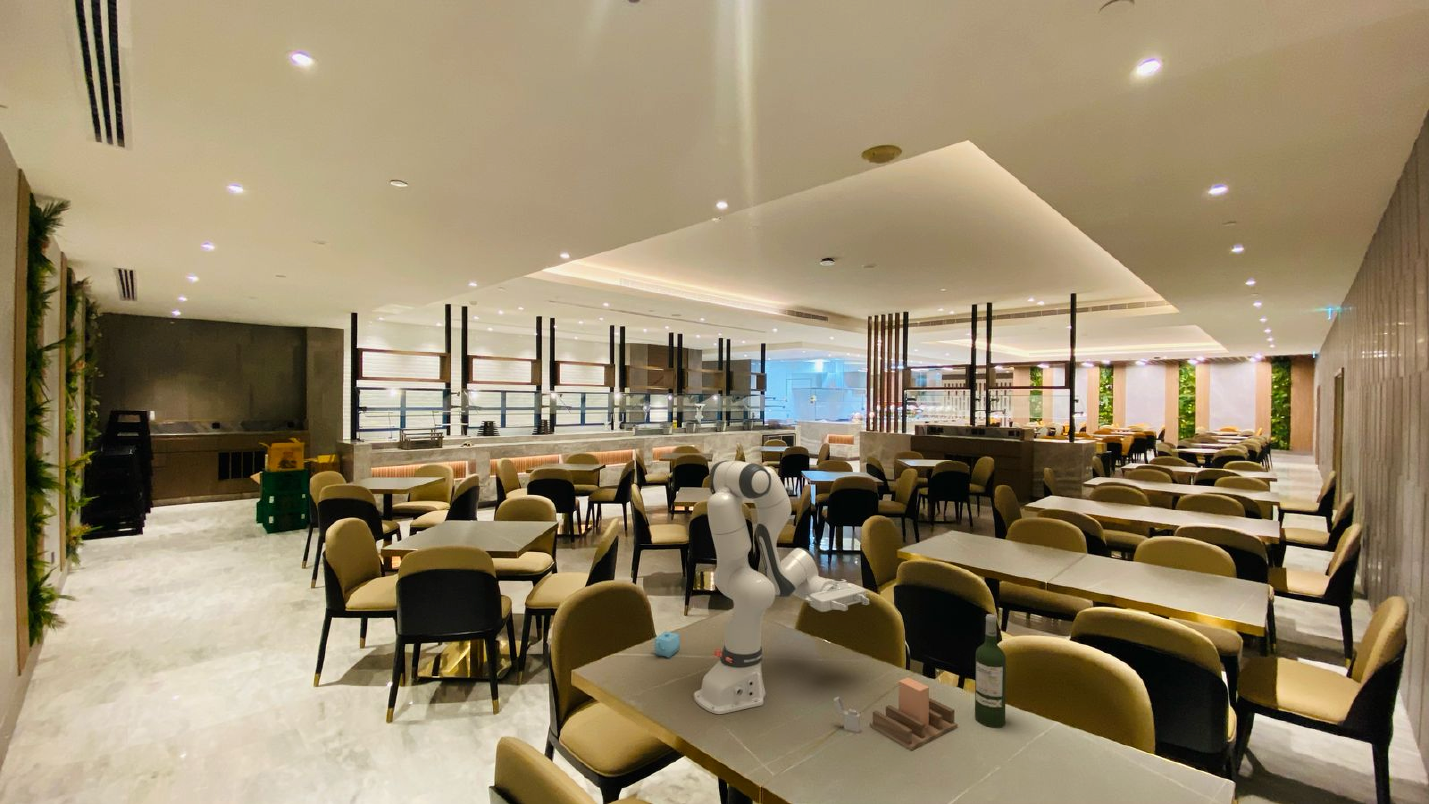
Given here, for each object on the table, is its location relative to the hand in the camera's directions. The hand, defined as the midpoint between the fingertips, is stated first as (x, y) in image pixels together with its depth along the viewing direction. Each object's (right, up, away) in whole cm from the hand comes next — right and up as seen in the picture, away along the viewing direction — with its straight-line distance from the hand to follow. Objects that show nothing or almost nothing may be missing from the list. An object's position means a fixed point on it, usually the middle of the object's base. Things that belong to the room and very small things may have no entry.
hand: (857, 605), depth 187 cm
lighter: (-7, -28, -18) cm, 34 cm away
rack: (+12, -28, -17) cm, 35 cm away
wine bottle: (+35, -29, -13) cm, 47 cm away
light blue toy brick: (-61, -27, +29) cm, 73 cm away
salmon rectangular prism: (+12, -27, -17) cm, 34 cm away
